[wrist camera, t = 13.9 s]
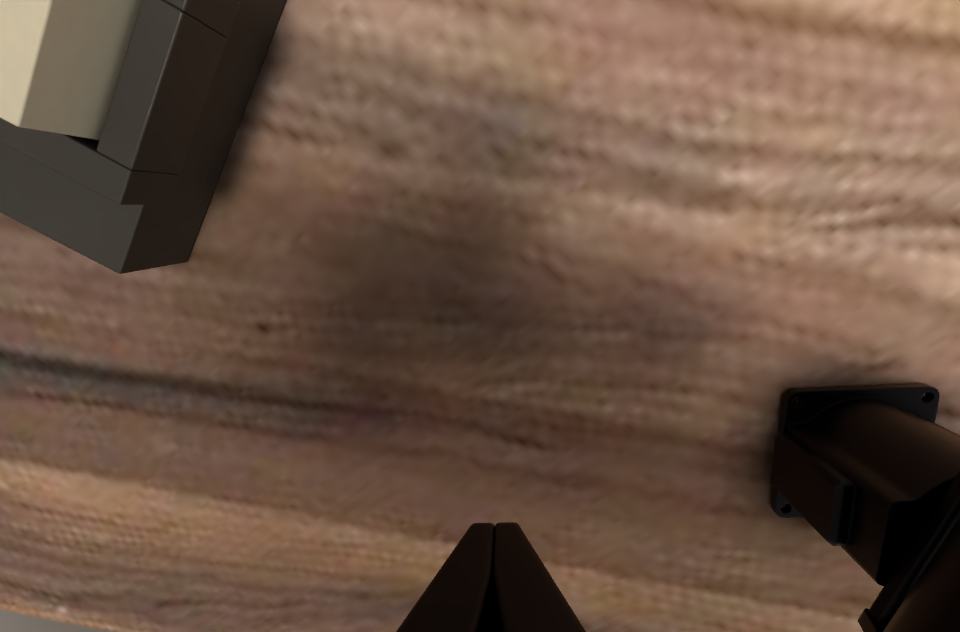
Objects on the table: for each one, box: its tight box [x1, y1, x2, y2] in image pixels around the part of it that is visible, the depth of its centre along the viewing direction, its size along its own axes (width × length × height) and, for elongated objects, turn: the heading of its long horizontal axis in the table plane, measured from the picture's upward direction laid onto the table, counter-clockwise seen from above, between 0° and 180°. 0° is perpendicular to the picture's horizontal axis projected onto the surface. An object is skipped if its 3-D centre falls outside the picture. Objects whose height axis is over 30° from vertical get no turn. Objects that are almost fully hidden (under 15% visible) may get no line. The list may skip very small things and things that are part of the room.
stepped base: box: [0, 0, 286, 274], centre depth 16 cm, size 13×14×6 cm
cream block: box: [0, 0, 142, 140], centre depth 12 cm, size 4×4×3 cm
